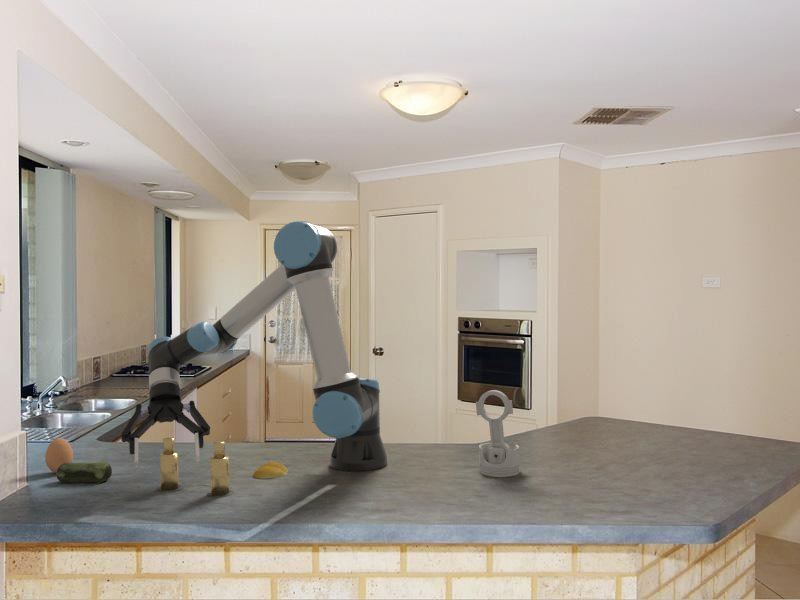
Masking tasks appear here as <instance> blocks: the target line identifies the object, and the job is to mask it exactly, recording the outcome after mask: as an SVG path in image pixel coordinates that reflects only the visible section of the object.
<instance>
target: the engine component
mask: <svg viewBox="0 0 800 600" xmlns="http://www.w3.org/2000/svg"><path fill="white" fill-rule="evenodd" d="M490 396H495V397H498V398H500V399H501V401H502V403H503V404H504V405H503V407H504V408H503V409H504V410H503V413H502V415H500V416H497V417H494V416H491V415H490V414H489V413H487V411H486V409H485V402H486V399H487V398H488V397H490ZM475 408H476V409H475V410H476V411H475V412H476V415H477V416H481V418H483V419H484V420H485V421H487V422H488V423H489V424H488V425H489V435H490V442H485V443H484V442H483V443H481V444H479V445H478V459H479V461H478V462H479V463H478V464H479V466H478V467H479V468H478V469H479V473H480V474H481V475H484V476H488V477H493V478H495V477H496V478H503V477H504V478H508V477H514V476H517V475H518V474H520V446H519V445H518V444H515V445H514V448H513V449H512V448H511V447H510V446H509V443H506V442H505V433H504V424H503V423H504V422H503V420H505V419H507V417H508V416H509V415H512V414H514V407H513V400H511V399H509V397H508V395H506V394H505V393H504V392H502V391H501V390H497V389H494V390H493V389H492V390H488V391H486V392H484V393H483V394H482V395H480V396H479V400H478V401H476V402H475Z"/></svg>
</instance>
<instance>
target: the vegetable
mask: <svg viewBox="0 0 800 600" xmlns="http://www.w3.org/2000/svg"><path fill="white" fill-rule="evenodd" d="M112 474H113V469H112V466H111V464H110V463H109V462H106V461H97V462H72V463H70V462H67V463H64V464H62V465H60V466H59V468H58V469H57V472H56V473H55V476H56V478H57V481H58V482H60V483H62V484H80V483H81V484H82V483H85V482H87V483H93V482H101V483H104V482H106V481H108V480H109V479H110V478H111V476H112Z"/></svg>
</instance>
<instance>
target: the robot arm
mask: <svg viewBox="0 0 800 600" xmlns="http://www.w3.org/2000/svg"><path fill="white" fill-rule="evenodd" d="M337 252H338V244H337V241H336V238H335V236H334V234H333V233H332V232H331V231H330V230H329V229H327V228H325V227H323V226H320V225H316V224H313V223H312V222H309V221H302V220H301V221H300V220H299V221H298V220H296V221H291V222H289V223H287V224H285V225H284V226H282V227H281V228H280V229H279V230H278V232H277V234H276V235H275V237H274V241H273V253H274V255H275V257H276V260H277V261H278V262H279V263H280V265H279V266H278V267H277V268H276V269H274V270H273V272H271V273H270V274H268V276H266V278H265V279H263V280H262V281H261V282H260V283H259V284H258V285H256V286H255V287H254V288H253V289H252V290H251V291H250V292H248V293H247V294H246V295H245V296H244V297H243V298H242V299H240V300H239V301H238V302H237V303H236V304H235V305H234V306H233V307H231V308H230V309H229V310H228V311H226V313H225V314H224V315H222V316H220V317H221V318H219V319H218V320H217V321H216V322H215V323H213V324H211V323H209V322H208V321H201V322H199V323H197V324H193V325H192V326H191V327H190V328H188V329H186V330H184V331H183V332H181V333H180V334H178V335H177V336H175V337H169V336H162V337H156V338H154V339H153V340H152V341H151V342H150V343H149V345H148V353H147V359H148V389H149V393H148V394H149V395H148V396H149V399H148V400H149V404H148V405H147V406H142V404H140V403H138V404H136V406H135V411H134V413H133V415H132V416H131V417H130V420H129V421H128V423H127V424H126V426H125V427H124V429H123V430H122V432H121V435H120V436H121V442H122V443H129V449H128V451H129V455H134V469H139V440H140V438H141V437H142V436H143V435H145V433H146V432H147V431H148V430H149V429H150V428H151V427H153V426H154V425H155V424H156V423H157V422H158V423H160V424H162V423H172V422H173V421H175V422H176V423H178V424H181V425H182V427H184V428H185V429H187V430H188V431H189V432H190V433H192V434H193V435H194V449H195V450H194V451H195V462H196V463H200V459H201V458H200V457H201V454H200V453H201V452H200V449H203V448H204V443H205V442H204V441H205V440H204V437H205V436H209V435H210V434H211V426H210V425H209V423H208V422H207V421H206V419H205V418H204V417H203V416H202V414H201V412H199V410H198V409H197V407H196V403H195V401H194V400H189V402H188V403H187V402H186V403H183V402H182V394H181V392H182V391H181V377H180V372H181V371H180V368H182V367H183V366H185V365H187V364H189V363H190V362H192V361H194V360H195V359H197V358H199V357H202V356H209V355H213V354H214V355H215V354H223V353H227V352H229V351H231V350H233V349H234V348H235V347H236V345H237V342H238V339H240V338H241V337H242V336H243V335H245V333H247V332H248V331H249V330H250V329H251V328H253V327H254V326H255V325H256V324H257V323H258V322H260V321H261V319H263V318H264V317H265V316H266V315H268V314H269V313H271V311H273V309H274V308H276V307H277V306H278V305H279V304H281V302H282V301H284V300H285V299H286V298H287V297H289V295H291V294H292V293H293V292H294V291H296V295H297V299H298V303H299V307H300V313H301V317H302V321H303V325H304V328H305V329H304V330H305V334H306V339H307V342H308V347H309V351H310V355H311V359H312V363H313V368H314V373H315V377H316V381H315V382H314V384H313V386H312V390H313V391H312V392H313V395H314V400H315V402H314V404H313V406H312V419H313V421H314V424H315V426H316V428H317V429H318V430H319V431H320V432H321V433H323V434H324V435H325V436H327V437H329V438H333V439H335V441H334V444H333V447H332V450H331V454H330V461H329V463H330V466H331V468H333V469H335V470H341V471H349V472H356V471H357V472H359V471H370V470H376V469H380V468H383V467H385V466H387V465H388V454H387V451H386V448H385V444H384V442H383V440H382V437H381V427H380V426H381V423H380V422H381V420H380V419H381V417H380V415H381V414H380V413H381V412H380V411H381V409H380V392H381V391H380V390H381V389H380V385H379V382H378V380H377V379H375V378H360V377H359V375H357V374H356V373H354V372H352V370H351V367H350V362H349V359H348V354H347V351H346V350H347V349H346V346H345V341H344V337H343V333H342V329H341V325H340V320H339V317H338V316H339V315H338V312H337V307H336V304H335V299H334V295H333V292H332V290H333V289H332V286H331V282H330V276H331V274H332V272H333V271H334V269H333V268H334V267H333V264H332V263H333V261H334V260H335V258H336V256H337ZM184 410H185V411H186V412H187V413H188V414H189V413H190V416H191V417H192V419H193V420H194V421H193V420H191V419H190V418H189V417H188V416H187V415H185V414H184V412H183V411H184ZM146 413H147V414H148V416H147V417H146V418H145V420H143V421H142V422H141V423H140V424H139V426H138V423H139V422H140V420H141V418H142V417H143V416H144V415H145V414H146ZM136 427H137V428H136Z"/></svg>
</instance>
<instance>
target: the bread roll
mask: <svg viewBox="0 0 800 600" xmlns="http://www.w3.org/2000/svg"><path fill="white" fill-rule="evenodd" d="M288 474H289V470H288V468H287V467H286V466H285V465H283V464H282V463H279V462H275V461H274V462H273V461H270V462H267V463H264V464H263V465H261V466H260V467H259V468H257V469H256V470H255V471H254V472H253V474H252V477H253V478H256V479H260V480H261V479H263V480H264V479H265V480H269V479H270V480H271V479H277V478H281V477H284V476H286V475H288Z"/></svg>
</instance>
